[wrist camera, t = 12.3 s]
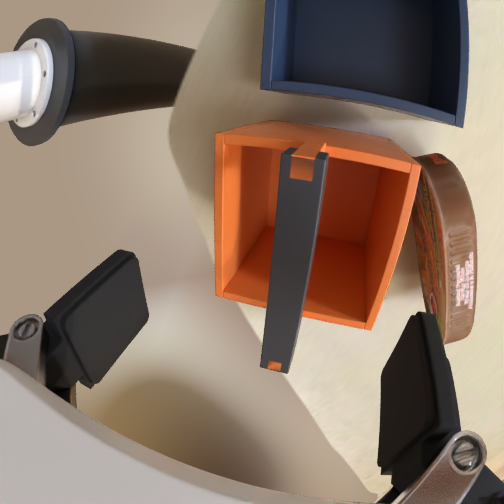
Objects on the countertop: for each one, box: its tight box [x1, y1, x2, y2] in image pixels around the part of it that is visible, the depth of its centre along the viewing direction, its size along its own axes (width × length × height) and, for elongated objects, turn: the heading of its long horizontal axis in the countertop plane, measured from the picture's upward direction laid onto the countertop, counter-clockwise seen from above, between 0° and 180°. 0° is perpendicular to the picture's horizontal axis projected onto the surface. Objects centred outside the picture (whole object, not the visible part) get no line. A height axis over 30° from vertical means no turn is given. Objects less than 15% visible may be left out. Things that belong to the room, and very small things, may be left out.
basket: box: [214, 120, 421, 374], centre depth 17 cm, size 10×10×15 cm
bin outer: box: [260, 0, 469, 128], centre depth 13 cm, size 12×12×7 cm
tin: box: [411, 153, 477, 345], centre depth 18 cm, size 15×3×8 cm, turn 22°
